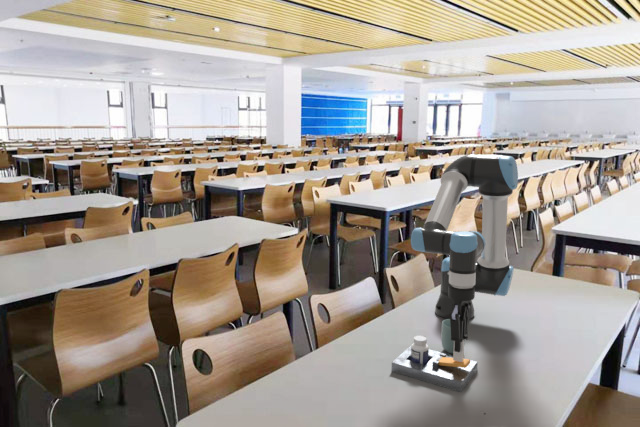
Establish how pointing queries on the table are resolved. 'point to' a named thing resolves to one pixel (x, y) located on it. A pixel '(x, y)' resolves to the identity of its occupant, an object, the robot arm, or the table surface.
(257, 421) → the table surface
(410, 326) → the table surface
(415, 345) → the pill bottle
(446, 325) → the cup
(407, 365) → the hitch plate
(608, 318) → the table surface
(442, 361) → the lever
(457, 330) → the robot arm
